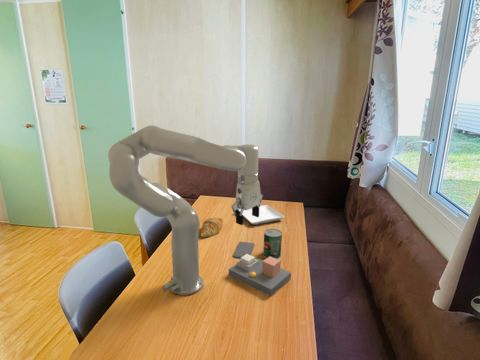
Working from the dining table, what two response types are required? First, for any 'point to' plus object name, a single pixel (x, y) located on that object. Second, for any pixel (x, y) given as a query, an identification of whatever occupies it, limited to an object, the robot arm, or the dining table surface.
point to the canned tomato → (272, 243)
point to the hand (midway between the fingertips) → (247, 220)
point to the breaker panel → (259, 277)
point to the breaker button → (247, 259)
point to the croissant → (211, 227)
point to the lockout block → (271, 266)
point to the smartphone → (243, 249)
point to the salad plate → (262, 215)
